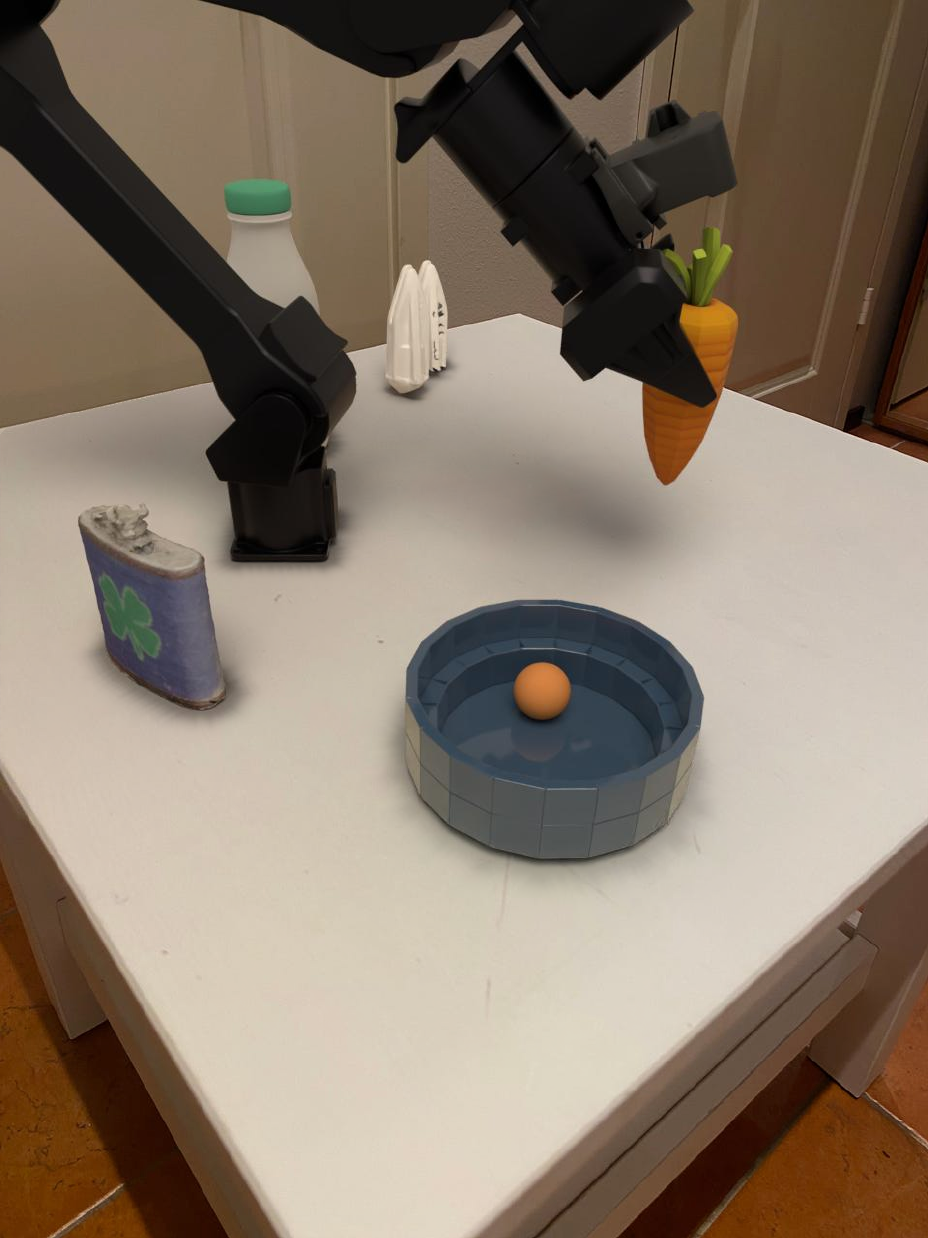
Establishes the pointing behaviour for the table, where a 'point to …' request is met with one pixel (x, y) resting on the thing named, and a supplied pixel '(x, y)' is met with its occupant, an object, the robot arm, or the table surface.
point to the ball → (542, 691)
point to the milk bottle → (266, 243)
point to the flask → (153, 606)
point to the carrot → (712, 334)
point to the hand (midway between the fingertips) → (705, 385)
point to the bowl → (551, 728)
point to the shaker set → (416, 328)
